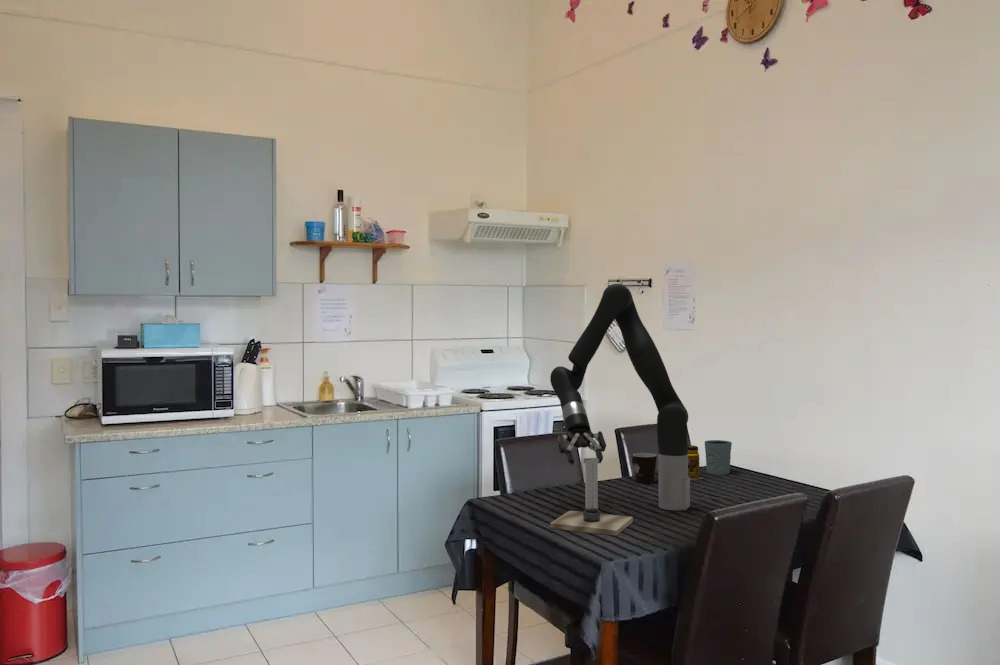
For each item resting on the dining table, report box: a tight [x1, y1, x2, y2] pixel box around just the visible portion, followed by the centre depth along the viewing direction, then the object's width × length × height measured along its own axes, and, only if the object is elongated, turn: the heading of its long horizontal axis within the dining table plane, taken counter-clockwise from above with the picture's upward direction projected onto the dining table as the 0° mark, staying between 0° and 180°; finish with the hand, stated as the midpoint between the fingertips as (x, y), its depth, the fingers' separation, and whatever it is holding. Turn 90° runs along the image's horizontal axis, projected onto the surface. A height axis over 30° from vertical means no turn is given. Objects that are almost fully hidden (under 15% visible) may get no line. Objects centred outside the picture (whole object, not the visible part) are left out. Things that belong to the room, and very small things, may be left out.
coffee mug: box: [631, 452, 658, 485], centre depth 294 cm, size 12×9×10 cm
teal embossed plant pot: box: [704, 439, 732, 476], centre depth 308 cm, size 10×10×12 cm
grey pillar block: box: [582, 457, 601, 522], centre depth 234 cm, size 5×5×18 cm
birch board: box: [549, 510, 634, 536], centre depth 235 cm, size 20×16×2 cm
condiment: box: [688, 444, 704, 481], centre depth 300 cm, size 7×8×12 cm
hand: (586, 462), depth 240 cm, fingers open, 8 cm apart
